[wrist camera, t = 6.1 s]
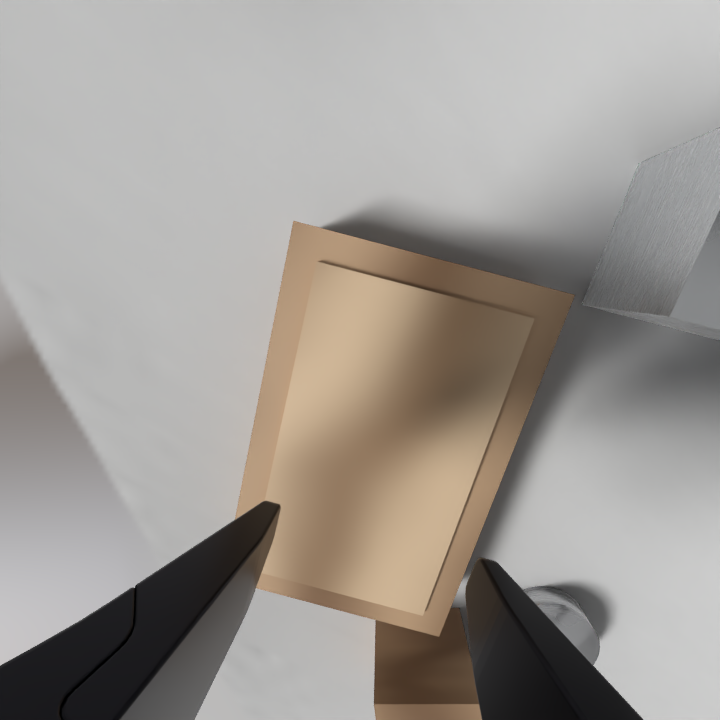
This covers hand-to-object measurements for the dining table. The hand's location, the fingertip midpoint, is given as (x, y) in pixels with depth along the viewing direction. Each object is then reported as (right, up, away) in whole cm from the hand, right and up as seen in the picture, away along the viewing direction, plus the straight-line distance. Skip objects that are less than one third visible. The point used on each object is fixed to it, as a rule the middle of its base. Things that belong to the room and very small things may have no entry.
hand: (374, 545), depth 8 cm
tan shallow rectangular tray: (0, +2, +7) cm, 7 cm away
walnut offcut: (+3, -10, +9) cm, 14 cm away
